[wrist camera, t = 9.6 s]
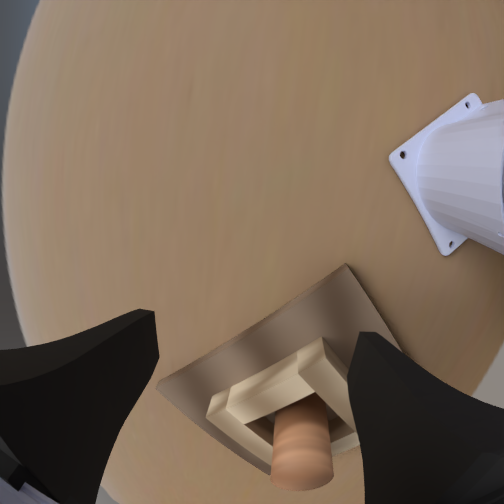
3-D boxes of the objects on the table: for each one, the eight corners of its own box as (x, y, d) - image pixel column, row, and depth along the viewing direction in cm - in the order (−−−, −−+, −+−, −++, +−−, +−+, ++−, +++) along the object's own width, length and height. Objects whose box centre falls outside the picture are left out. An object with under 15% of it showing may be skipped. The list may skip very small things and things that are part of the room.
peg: (282, 386, 20) (279, 461, 13) (332, 393, 20) (343, 465, 13) (270, 418, 21) (264, 487, 15) (316, 425, 21) (320, 492, 14)
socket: (345, 263, 18) (358, 283, 15) (426, 394, 21) (439, 420, 17) (159, 381, 23) (144, 407, 19) (269, 468, 25) (267, 493, 22)
